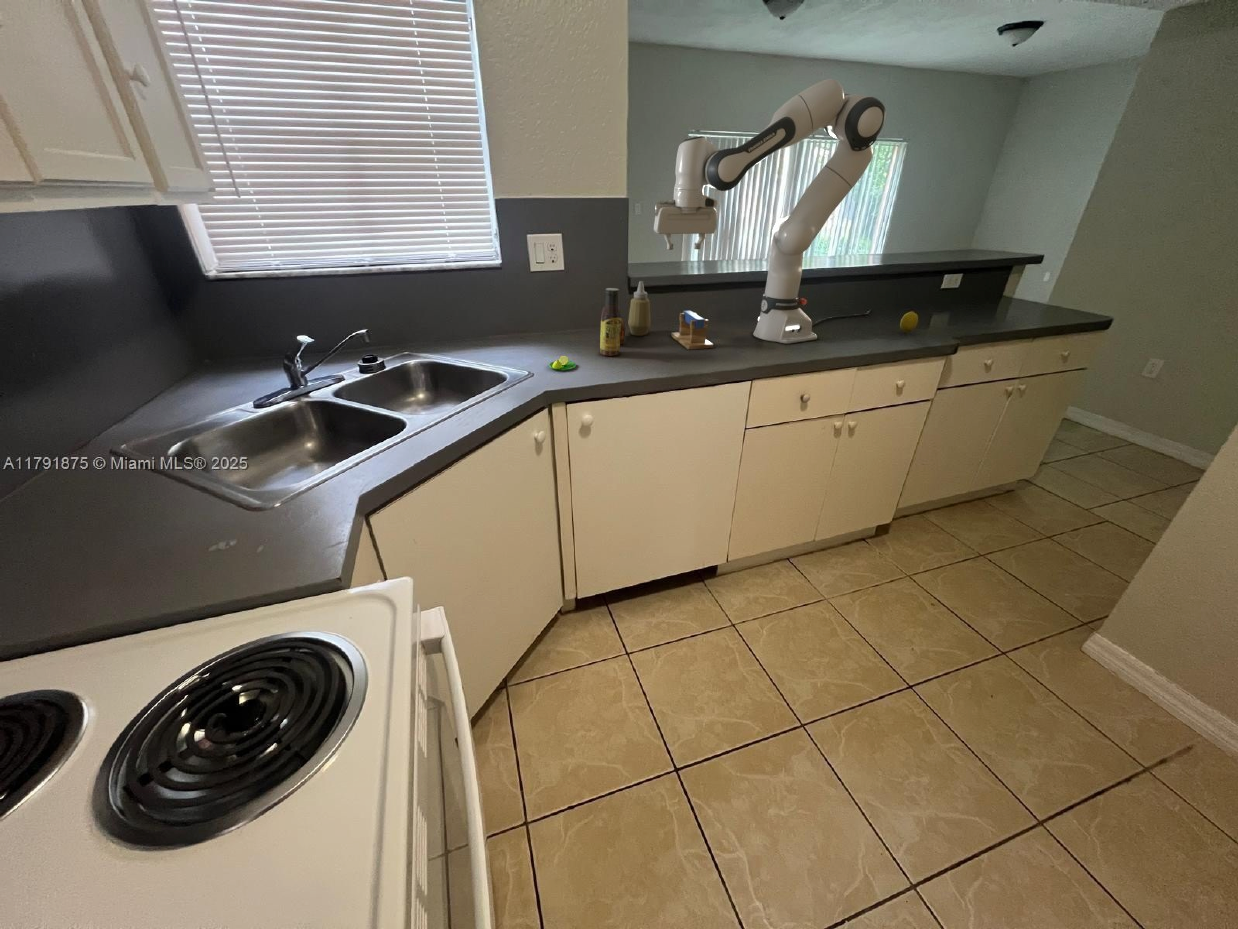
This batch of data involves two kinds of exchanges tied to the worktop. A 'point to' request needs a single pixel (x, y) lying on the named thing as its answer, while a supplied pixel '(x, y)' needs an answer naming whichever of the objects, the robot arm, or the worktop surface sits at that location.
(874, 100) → the robot arm
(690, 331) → the holder
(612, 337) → the sauce bottle
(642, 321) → the squeeze bottle
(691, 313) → the handle
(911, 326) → the lemon
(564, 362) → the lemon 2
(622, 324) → the tin
